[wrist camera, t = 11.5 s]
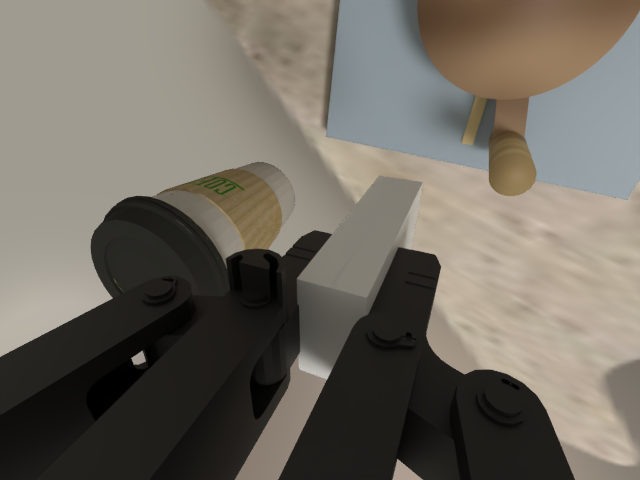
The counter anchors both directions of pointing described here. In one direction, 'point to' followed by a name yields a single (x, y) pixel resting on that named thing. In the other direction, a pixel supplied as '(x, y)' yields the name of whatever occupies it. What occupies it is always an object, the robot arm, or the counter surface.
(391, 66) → the blue board
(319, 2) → the counter surface
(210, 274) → the coffee cup
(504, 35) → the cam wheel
